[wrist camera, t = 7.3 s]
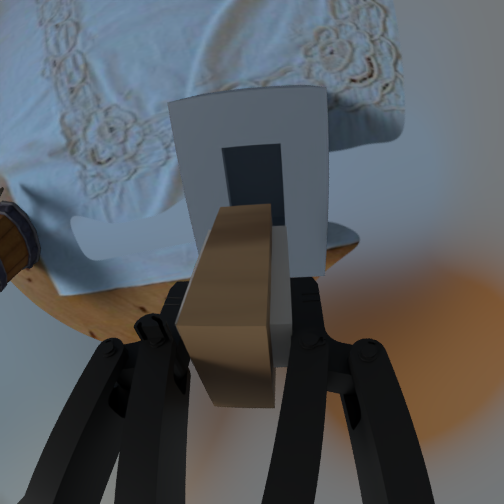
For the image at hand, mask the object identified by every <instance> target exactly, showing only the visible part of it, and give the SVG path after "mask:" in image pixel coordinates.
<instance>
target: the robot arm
mask: <svg viewBox="0 0 504 504" xmlns="http://www.w3.org/2000/svg"><path fill="white" fill-rule="evenodd" d="M210 232H211V230H209V231H208V233H207V236H206V238H205V241H204V244H203V246H202V249H201V251H200V254H199V257H198V260H197V262H196V265H195V268H194V270H193V273H192V276H191V279H190V281H184V282H176V283H175V285H174V286H173V287H172V288H171V289H170V291H169V293H168V296H167V299H166V301H165V303H164V305H163V308H162V310H161V313H160V314H154V313H152V314H147V315H145V316H143V317H141V318H140V319H139V320H138V321H137V322H136V323H135V325H134V329H135V330H136V332H137V334H138V336H139V338H140V339H141V341H138V342H134V343H129V344H123V343H122V341H121V340H120V339H118V338H109V339H106V340H104V341H103V342H101V344H100V345H99V346H98V347H97V349H96V350H95V352H94V354H93V356H92V357H91V359H90V361H89V362H88V364H87V366H86V368H85V369H84V371H83V373H82V375H81V377H80V378H79V380H78V382H77V384H76V385H75V387H74V389H73V391H72V393H71V395H70V397H69V399H68V400H67V402H66V404H65V406H64V408H63V410H62V412H61V414H60V416H59V418H58V420H57V422H56V424H55V426H54V428H53V430H52V432H51V434H50V436H49V439H48V441H47V443H46V445H45V447H44V449H43V452H42V454H41V456H40V459H39V461H38V464H37V466H36V468H35V471H34V473H33V475H32V478H31V480H30V483H29V485H28V488H27V491H26V494H25V496H24V497H23V498H22V499H21V500H20V501H19V502H18V503H17V504H100V502H101V499H102V496H103V493H104V491H105V488H106V485H107V482H108V480H109V477H110V475H111V472H112V470H113V467H114V464H115V462H116V459H117V457H118V454H119V452H120V454H119V461H118V471H117V479H116V489H115V501H114V504H185V476H186V444H187V424H188V407H189V391H190V378H191V375H190V370H189V368H188V366H189V362H190V359H191V358H190V356H189V353H188V351H187V349H186V347H185V344H184V342H183V340H182V338H181V335H180V333H179V331H178V328H177V326H176V325H177V322H178V319H179V316H180V313H181V310H182V307H183V304H184V302H185V299H186V296H187V293H188V290H189V288H190V285H191V282H192V279H193V277H194V274H195V271H196V268H197V266H198V263H199V260H200V258H201V255H202V252H203V250H204V247H205V245H206V242H207V239H208V237H209V234H210ZM270 333H271V344H272V355H273V366H274V367H287V374H286V380H285V386H284V392H283V399H282V404H281V410H280V416H279V421H278V427H277V433H276V437H275V443H274V448H273V453H272V458H271V463H270V467H269V472H268V477H267V481H266V486H265V490H264V495H263V499H262V503H261V504H314V500H315V494H316V487H317V481H318V474H319V466H320V459H321V450H322V441H323V431H324V421H325V409H326V394H327V391H329V392H334V393H339V394H340V397H341V401H342V405H343V409H344V414H345V418H346V422H347V427H348V431H349V436H350V440H351V444H352V450H353V454H354V459H355V464H356V469H357V474H358V480H359V485H360V490H361V496H362V502H363V504H435V503H434V498H433V494H432V489H431V485H430V481H429V477H428V473H427V469H426V466H425V462H424V458H423V455H422V452H421V448H420V445H419V441H418V438H417V435H416V432H415V429H414V426H413V422H412V419H411V416H410V413H409V410H408V408H407V405H406V402H405V399H404V396H403V393H402V391H401V388H400V386H399V383H398V380H397V377H396V375H395V372H394V370H393V367H392V364H391V362H390V360H389V357H388V354H387V352H386V350H385V348H384V347H383V345H382V344H381V343H379V342H378V341H377V340H373V339H370V338H369V339H361V340H358V341H356V342H355V343H354V344H353V345H351V344H345V343H341V342H338V341H336V340H334V339H332V338H331V337H330V336H329V335H328V334H327V332H326V331H325V327H324V321H323V314H322V307H321V302H320V295H319V288H318V284H317V283H316V281H315V280H314V279H313V278H312V277H295V278H290V271H289V254H288V239H287V226H272V261H271V300H270ZM191 361H192V360H191ZM192 363H193V362H192ZM193 365H194V364H193Z"/></svg>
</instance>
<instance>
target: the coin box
mask: <svg viewBox="0 0 504 504" xmlns="http://www.w3.org/2000/svg"><path fill="white" fill-rule="evenodd" d="M168 109H169V115H170V121H171V127H172V132H173V138H174V143H175V148H176V154H177V159H178V164H179V169H180V174H181V179H182V184H183V188H184V193H185V198H186V202H187V207H188V211H189V216H190V220H191V224H192V229H193V233H194V237H195V241H196V246H197V250H198V254H200V251H201V249H202V246H203V244H204V241H205V238H206V236H207V233H208V231H209V230H211V229H212V227H213V224H214V221H215V219H216V216H217V214H218V211H219V209H220V207H227V206H241V205H256V204H271V213H272V226H287V239H288V254H289V271H290V277H311V276H324V275H325V263H326V247H327V227H328V194H329V137H328V107H327V88H326V87H320V86H311V85H291V86H270V87H257V88H246V89H236V90H228V91H220V92H213V93H207V94H201V95H197V96H192V97H188V98H184V99H180V100H176V101H172V102H169V103H168Z"/></svg>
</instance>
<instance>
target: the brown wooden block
mask: <svg viewBox="0 0 504 504" xmlns="http://www.w3.org/2000/svg"><path fill="white" fill-rule="evenodd" d="M271 261H272V213H271V204H256V205H241V206H227V207H220V209H219V211H218V214H217V216H216V219H215V221H214V224H213V227H212V229H211V232H210V234H209V237H208V239H207V242H206V245H205V247H204V250H203V252H202V255H201V258H200V260H199V263H198V266H197V268H196V271H195V274H194V277H193V279H192V282H191V285H190V288H189V290H188V293H187V296H186V299H185V302H184V304H183V307H182V310H181V313H180V316H179V319H178V322H177V325H176V326H177V328H178V331H179V333H180V335H181V338H182V340H183V342H184V344H185V347H186V349H187V351H188V353H189V356H190V358H191V360H192V362H193V364H194V366H195V368H196V370H197V372H198V374H199V377H200V379H201V381H202V383H203V385H204V387H205V389H206V391H207V393H208V395H209V397H210V399H211V401H212V402H213V404H214V406H217V407H235V408H275V376H276V367H274V366H273V355H272V344H271V333H270V300H271Z"/></svg>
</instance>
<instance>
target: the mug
mask: <svg viewBox="0 0 504 504" xmlns="http://www.w3.org/2000/svg"><path fill="white" fill-rule="evenodd" d="M3 190H4V188H3V187H2V188H0V196H1V194H2V192H3ZM40 251H41V247H40V243H39V239H38V236H37V232H36V230H35V228H34V226H33V225H32V223H31V221H30V220H29V218H28V216H27V214H26V213H25V212H24V211H23V210H21V209H20V208H19V207H18V206H17V205H16V204H15V203H14V202H7V201H2V202H1V203H0V292H2V290H3V289H4V288H5V287H6V286H7V283H8V282H9V281H10V280H11V279H12V278H13V277H14V276H15V275H16V274H18V273H19V272H20V271H21V270H23V269H25V268H29V269H30V268H32V267H33V264H35V263H36V262H38V261H39V256H40Z"/></svg>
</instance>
